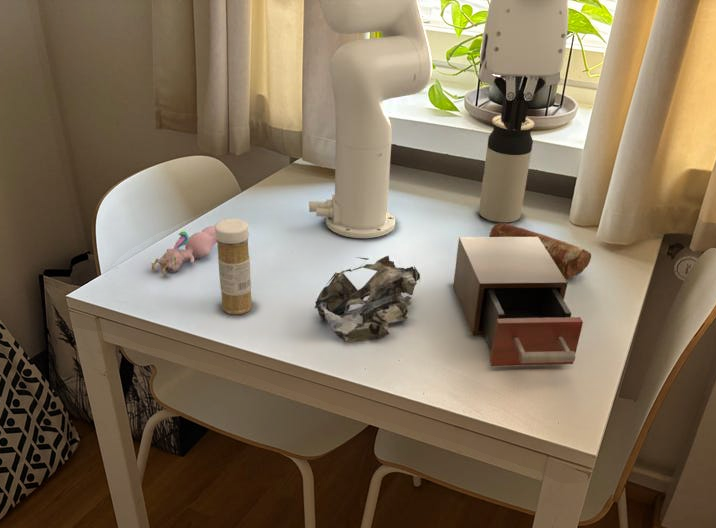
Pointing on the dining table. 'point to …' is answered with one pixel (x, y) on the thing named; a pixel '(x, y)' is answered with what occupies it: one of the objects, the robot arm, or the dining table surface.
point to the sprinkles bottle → (234, 265)
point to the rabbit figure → (187, 249)
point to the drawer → (529, 327)
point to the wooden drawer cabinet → (501, 271)
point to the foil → (367, 301)
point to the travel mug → (505, 171)
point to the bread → (550, 249)
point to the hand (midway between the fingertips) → (511, 127)
